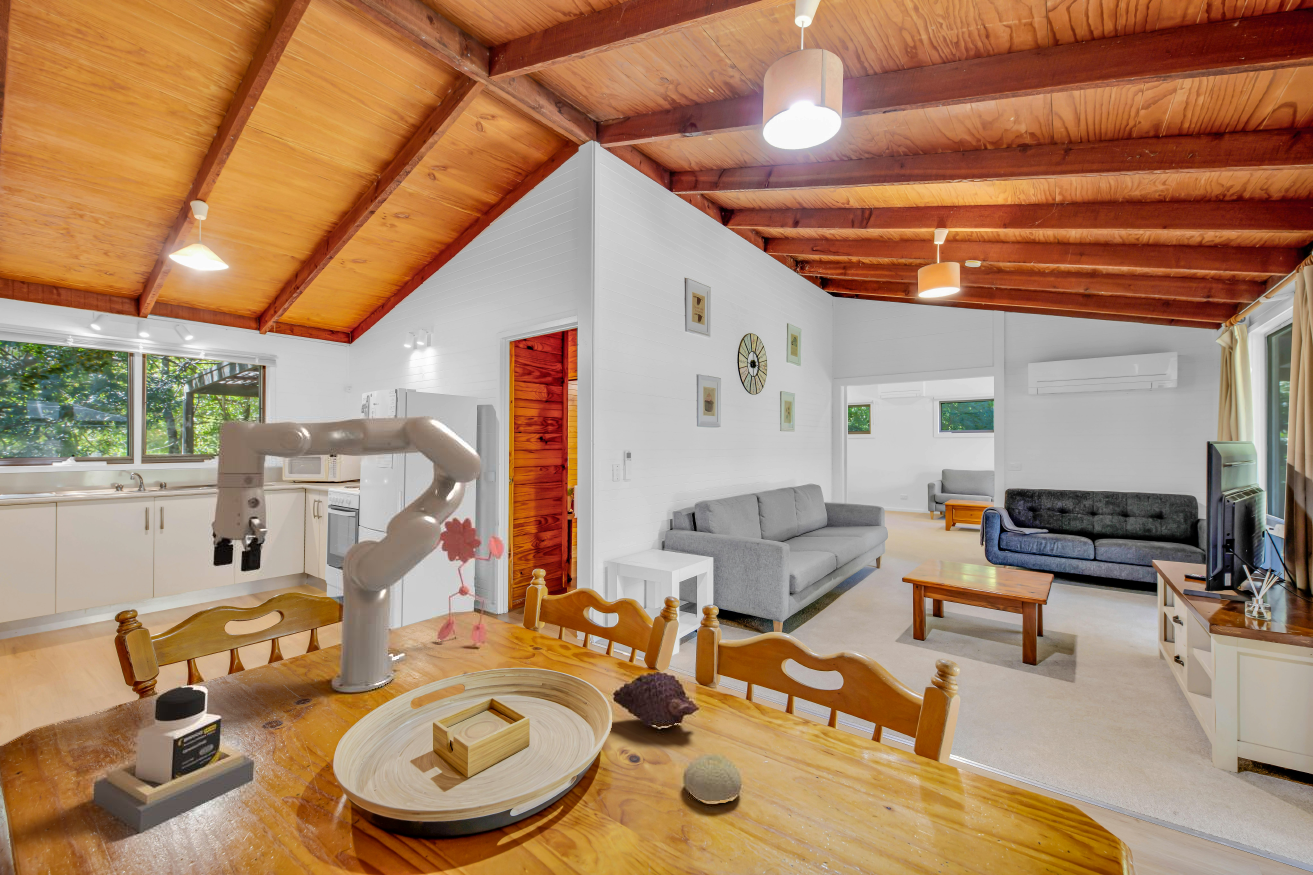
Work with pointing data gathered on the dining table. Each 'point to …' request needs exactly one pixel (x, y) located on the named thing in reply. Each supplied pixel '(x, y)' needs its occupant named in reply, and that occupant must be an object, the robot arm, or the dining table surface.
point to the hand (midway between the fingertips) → (236, 567)
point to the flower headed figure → (462, 545)
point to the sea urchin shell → (712, 778)
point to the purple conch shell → (655, 699)
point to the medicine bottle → (178, 736)
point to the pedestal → (169, 790)
